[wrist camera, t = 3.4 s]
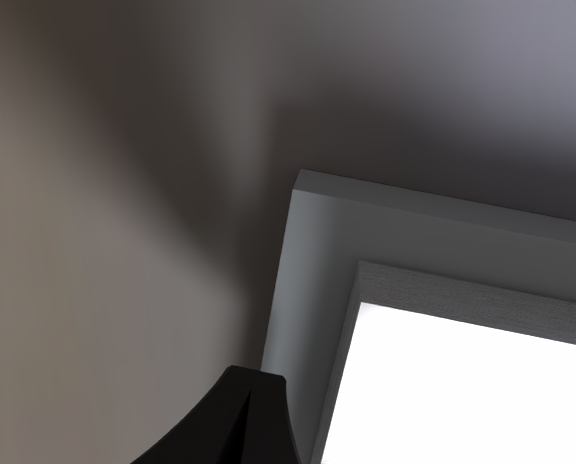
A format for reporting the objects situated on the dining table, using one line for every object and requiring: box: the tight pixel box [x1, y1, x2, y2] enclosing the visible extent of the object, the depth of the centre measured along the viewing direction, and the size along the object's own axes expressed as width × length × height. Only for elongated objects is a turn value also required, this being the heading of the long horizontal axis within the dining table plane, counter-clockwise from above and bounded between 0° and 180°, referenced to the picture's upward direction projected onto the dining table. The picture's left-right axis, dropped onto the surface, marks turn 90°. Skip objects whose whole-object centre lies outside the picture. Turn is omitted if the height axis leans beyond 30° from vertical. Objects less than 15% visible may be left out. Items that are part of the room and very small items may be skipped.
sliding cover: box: [310, 260, 576, 464], centre depth 12 cm, size 8×8×2 cm
